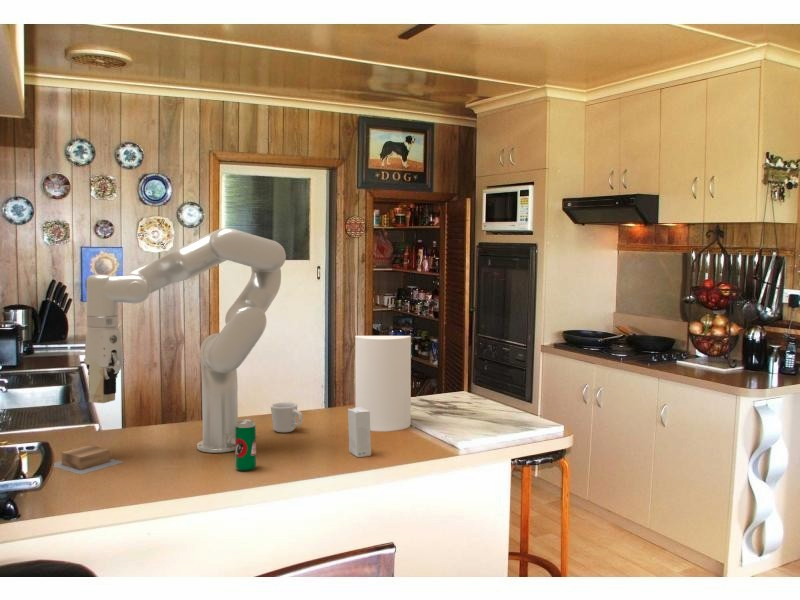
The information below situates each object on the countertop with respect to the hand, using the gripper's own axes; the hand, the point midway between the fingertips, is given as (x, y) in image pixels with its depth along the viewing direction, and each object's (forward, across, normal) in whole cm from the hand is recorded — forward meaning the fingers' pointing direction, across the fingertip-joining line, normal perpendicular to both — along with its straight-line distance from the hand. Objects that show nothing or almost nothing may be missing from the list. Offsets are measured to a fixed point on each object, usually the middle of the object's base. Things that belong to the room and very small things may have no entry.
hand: (102, 391), depth 182 cm
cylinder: (+16, -37, -73) cm, 83 cm away
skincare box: (+17, -51, -43) cm, 69 cm away
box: (+3, 0, 0) cm, 3 cm away
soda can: (+17, -36, -17) cm, 43 cm away
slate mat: (+18, -1, +5) cm, 19 cm away
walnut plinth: (+17, -1, +5) cm, 18 cm away
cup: (+17, -19, -49) cm, 55 cm away
